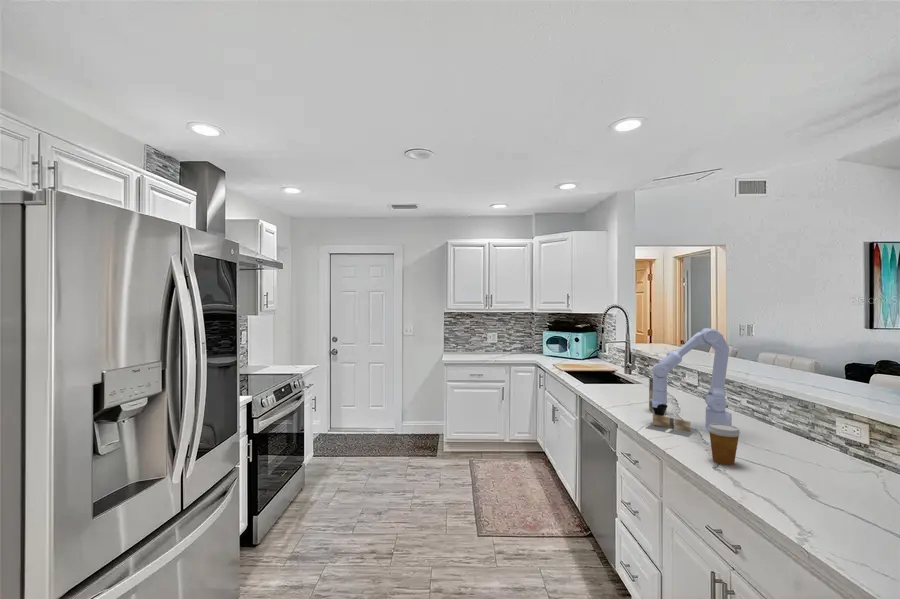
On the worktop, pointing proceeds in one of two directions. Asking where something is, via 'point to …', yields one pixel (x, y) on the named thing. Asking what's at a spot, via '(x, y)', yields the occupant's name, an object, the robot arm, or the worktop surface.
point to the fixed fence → (682, 425)
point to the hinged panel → (663, 421)
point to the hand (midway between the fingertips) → (659, 421)
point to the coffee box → (652, 396)
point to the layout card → (671, 430)
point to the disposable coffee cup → (723, 442)
